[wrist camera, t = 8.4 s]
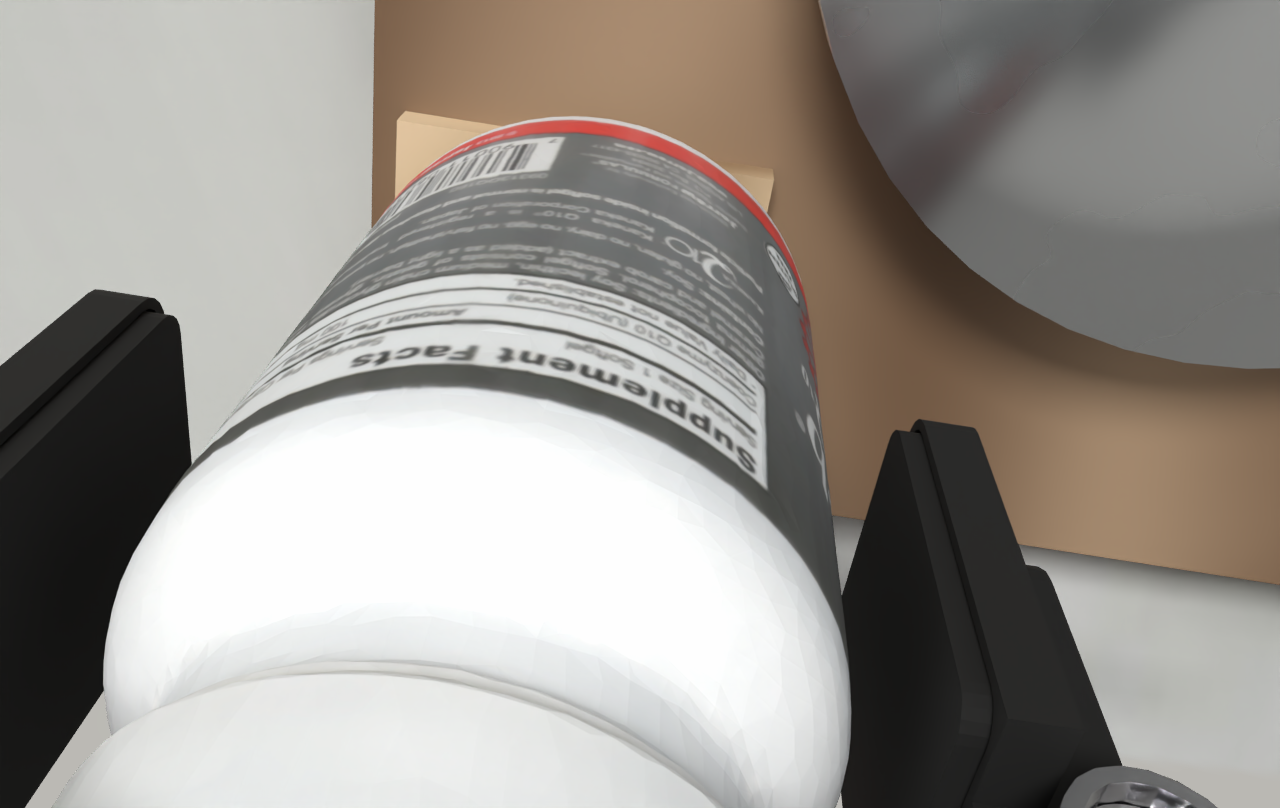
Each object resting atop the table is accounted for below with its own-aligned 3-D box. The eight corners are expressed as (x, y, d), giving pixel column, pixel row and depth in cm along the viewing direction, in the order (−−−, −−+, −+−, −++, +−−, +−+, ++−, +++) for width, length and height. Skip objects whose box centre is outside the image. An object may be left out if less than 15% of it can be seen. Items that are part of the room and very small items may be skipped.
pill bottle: (727, 541, 16) (704, 1433, 8) (344, 434, 16) (-125, 1255, 7) (878, 180, 13) (1117, 987, 5) (412, 36, 13) (-254, 640, 4)
